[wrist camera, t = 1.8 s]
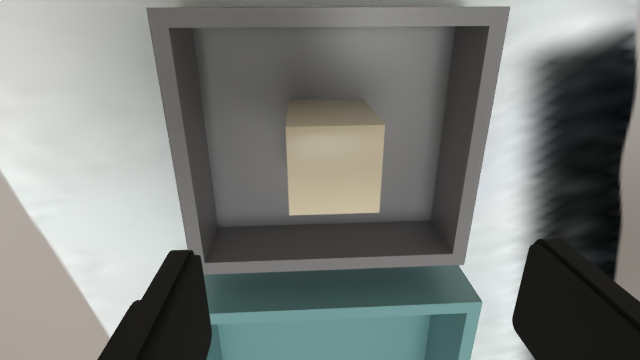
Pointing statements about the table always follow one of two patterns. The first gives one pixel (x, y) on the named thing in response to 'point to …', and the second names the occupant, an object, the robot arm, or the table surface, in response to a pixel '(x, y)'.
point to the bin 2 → (343, 314)
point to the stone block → (333, 156)
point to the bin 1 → (326, 83)
